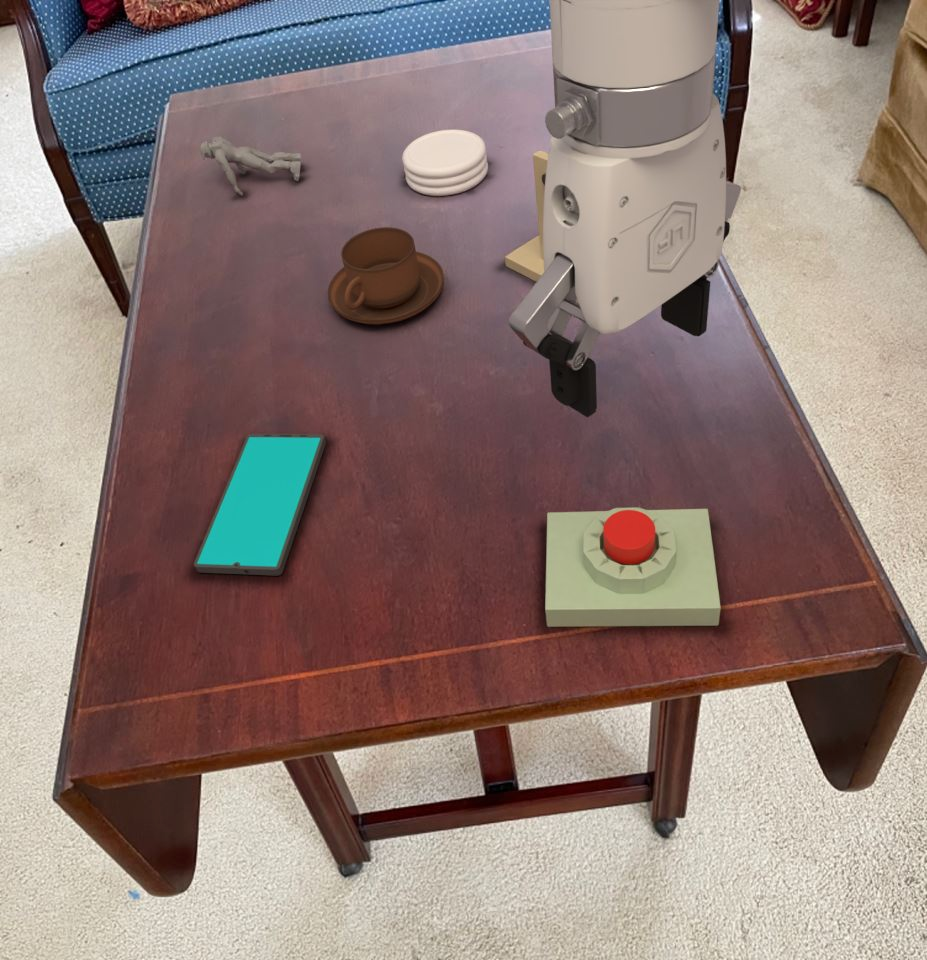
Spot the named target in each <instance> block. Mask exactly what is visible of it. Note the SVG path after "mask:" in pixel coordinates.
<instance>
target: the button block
mask: <svg viewBox="0 0 927 960" xmlns="http://www.w3.org/2000/svg"><path fill="white" fill-rule="evenodd" d="M623 510H635V511H639V512H642V513H644V514H646V515H647V516H648V517H649V518H650V519H651V520H652V521H653V523H654V525H655V548H654V551H653V553H652V555H651V556H650V557H649V558H648V559H646V560H645V561H643V562H641V563H637V564H622V563H619V562H616V561H614V560H613V559H611V558H610V557H609V556H608V555H607V553H606V551H605V549H604V538H603V527H604V524H605V522H606V520H607V519H608V518H609V517H610V516H611V515H613V514H614V513H616V512H619V511H623ZM546 516H547V517H546V553H545V554H546V555H545V556H546V557H545V563H546V564H545V597H544V598H545V599H544V601H545V602H544V610H545V621H546V626H547V627H549V628H552V627H554V628H556V627H557V628H559V627H560V628H561V627H562V628H563V627H566V628H568V627H569V628H570V627H694V626H695V627H703V626H705V627H710V626H715V627H716V626H719V625H720V617H721V598H720V592H719V591H720V590H719V584H718V577H717V576H718V575H717V569H716V568H717V567H716V561H715V553H714V544H713V537H712V529H711V522H710V515H709V509H708V508H680V509H679V508H678V509H677V508H676V509H645V508H642V507H638V506H636V507H634V506H633V507H614V508H612V509H610V510H598V511H597V510H595V511H593V510H592V511H557V512H555V511H553V512H550V511H549V512H547V513H546Z"/></svg>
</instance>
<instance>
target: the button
mask: <svg viewBox="0 0 927 960" xmlns="http://www.w3.org/2000/svg"><path fill="white" fill-rule="evenodd" d="M603 538H604V549H605V551H606V553H607V555H608V556H609V557H610V558H611V559H613V560H614V561H616V562H619V563H622V564H637V563H641V562H643V561H645V560H646V559H648V558H649V557H650V556H651V555H652V553H653V551H654V548H655V525H654V523H653V521H652V520H651V519H650V518H649V517H648V516H647V515H646V514H644V513H642V512H639V511H635V510H623V511H619V512H616V513H614V514H613V515H611V516H610V517H609V518H608V519H607V520H606V522H605V524H604V527H603Z"/></svg>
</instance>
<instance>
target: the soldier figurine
mask: <svg viewBox="0 0 927 960" xmlns="http://www.w3.org/2000/svg"><path fill="white" fill-rule="evenodd" d="M210 141H211V142H209V140H204V141H203V142H201V144H200V147H199V151H200V155H201V158H202V160H203V161H205V158H207V159H211V160H212V159H213V160H214V159H215V161H216V162H217V164H218V166H220V167H221V169H222V170H223V172H225V174H226V175H225V176H226V178H227V180H228V181H229V183H230V184H231V185H232V186H233V188H234V191H235V192H236V193H237V194H238V195H240V196H242V197H243V196H244V193H243V192H242V191H241V190H240V188H239V186H238V182H237V177H236V174H235V172H234V170H233V169H232V167H231V165H230V164H235V165H236V167H237V170H238V172H239V173H240V174H242V175H245V174H246V173H247V171H246V170H247V168H250V169H253V170H256V171H259V172H260V171H262V172H264V171H265V172H267V173H270V174H275V173H277V172H278V171H281V170H286V171H288V170H289V171H290V172H291V173H292V174H293V179H294V181H296V182H299V181H300V174H301V164H302V162H301V161H302V160H301V159H302V153H301V152H292V153H291V152H287V153H286V152H283V151H277V152H273V153H272V154H268V153H266V152H264V151H261V150H259V149H257V148H256V149H255V148H253V147H249V146H245V145H244V146H238V147H236V146H234V144H233V143H232V142H230V141H229V140H228V139H225V138H224V137H223V136H221V135H219V136H213V137H212V138H211V139H210Z"/></svg>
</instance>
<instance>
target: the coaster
mask: <svg viewBox="0 0 927 960" xmlns="http://www.w3.org/2000/svg"><path fill="white" fill-rule="evenodd" d="M401 159H402V161H401V162H402V164H403V171H404V174H405V182H406V183H407V185H408V187H409V188H410V189H412V190H413V191H415V192H417V193H419V194H422V195H424V196H425V195H426V196H432V197H446V196H452V195H458V194H462V193H465V192H467V191H469V190H471V189H473V188H474V187H476V186H477V185H478V184H480V183H481V182H482V181H483V180H484V179H485V177H486V176H487V174H488V171H489V163H488V154H487V145H486V143H485V140H484V139H483V138H482V137H480V136H479V135H478V134H476V133H474V132H472V131H468V130H463V129H442V130H436V131H433V132H429V133H426V134H424V135H421V136H419V137H417V138H416V139H414V140H413V141H412V142H410V143H409V144H408V145H407V146H406V147H405V149H404V151H403V153H402V157H401Z"/></svg>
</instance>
